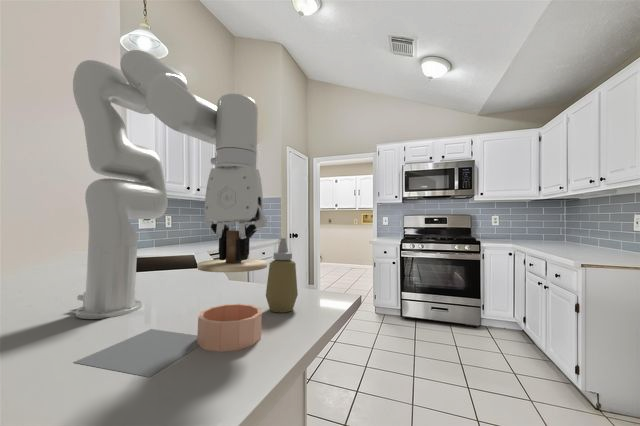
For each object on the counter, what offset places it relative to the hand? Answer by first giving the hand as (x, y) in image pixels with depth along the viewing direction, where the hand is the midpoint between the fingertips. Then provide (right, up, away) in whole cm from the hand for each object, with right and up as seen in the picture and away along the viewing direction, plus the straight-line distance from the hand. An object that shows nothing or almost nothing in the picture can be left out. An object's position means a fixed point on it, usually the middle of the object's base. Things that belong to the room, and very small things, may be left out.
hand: (233, 258), depth 53 cm
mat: (-12, -14, -6) cm, 20 cm away
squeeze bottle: (+6, -16, +18) cm, 25 cm away
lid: (0, -1, 0) cm, 1 cm away
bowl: (0, -15, -1) cm, 15 cm away
